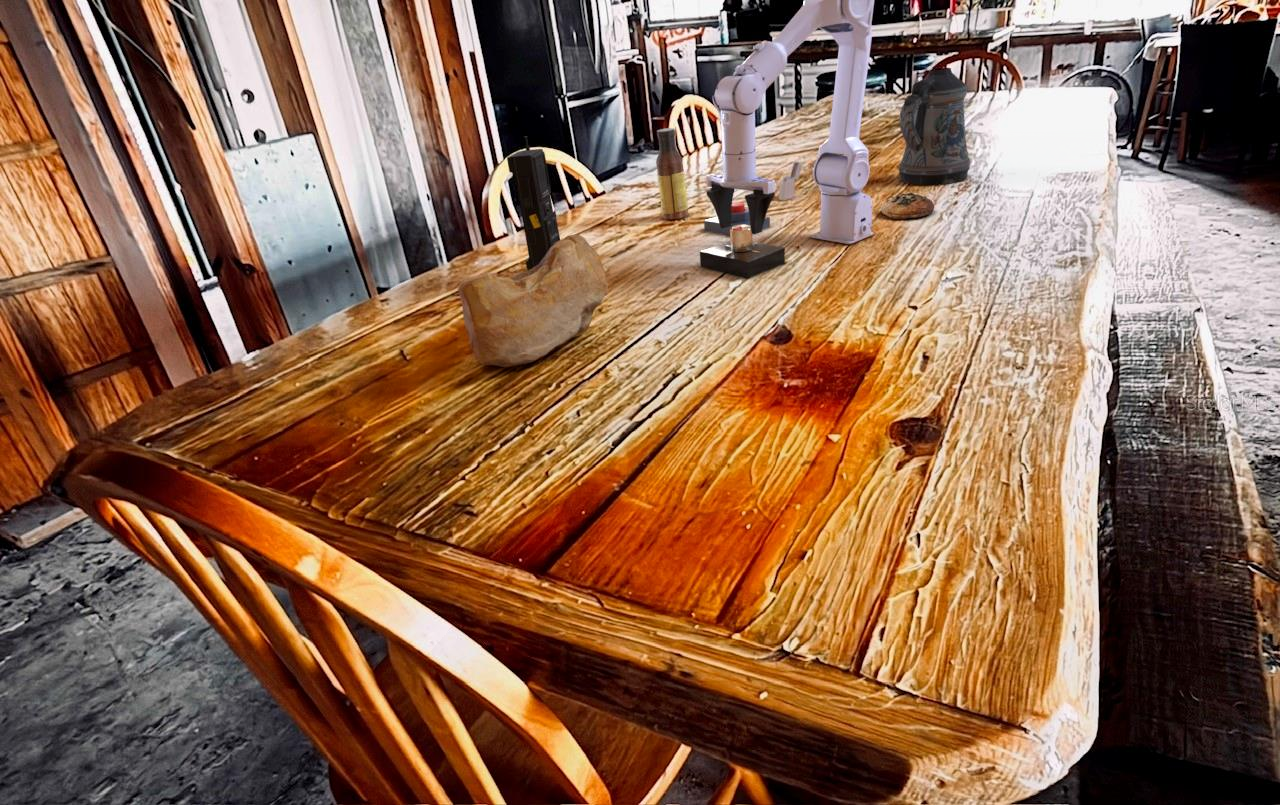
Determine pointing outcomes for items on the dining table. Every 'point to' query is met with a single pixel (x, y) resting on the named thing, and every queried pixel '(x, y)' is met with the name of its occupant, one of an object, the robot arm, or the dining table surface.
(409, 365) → the dining table surface
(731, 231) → the dial
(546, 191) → the portable radio
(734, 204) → the power button
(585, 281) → the rough brown rock
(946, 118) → the beer stein
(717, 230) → the button box
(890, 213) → the bread roll
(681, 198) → the sauce bottle
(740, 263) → the dial panel
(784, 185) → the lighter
